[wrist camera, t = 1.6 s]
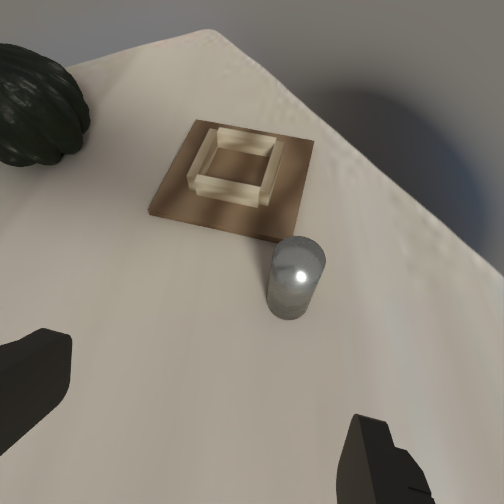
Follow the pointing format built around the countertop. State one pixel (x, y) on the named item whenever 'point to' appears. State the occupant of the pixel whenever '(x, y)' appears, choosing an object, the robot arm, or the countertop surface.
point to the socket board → (236, 181)
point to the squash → (38, 109)
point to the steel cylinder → (294, 276)
